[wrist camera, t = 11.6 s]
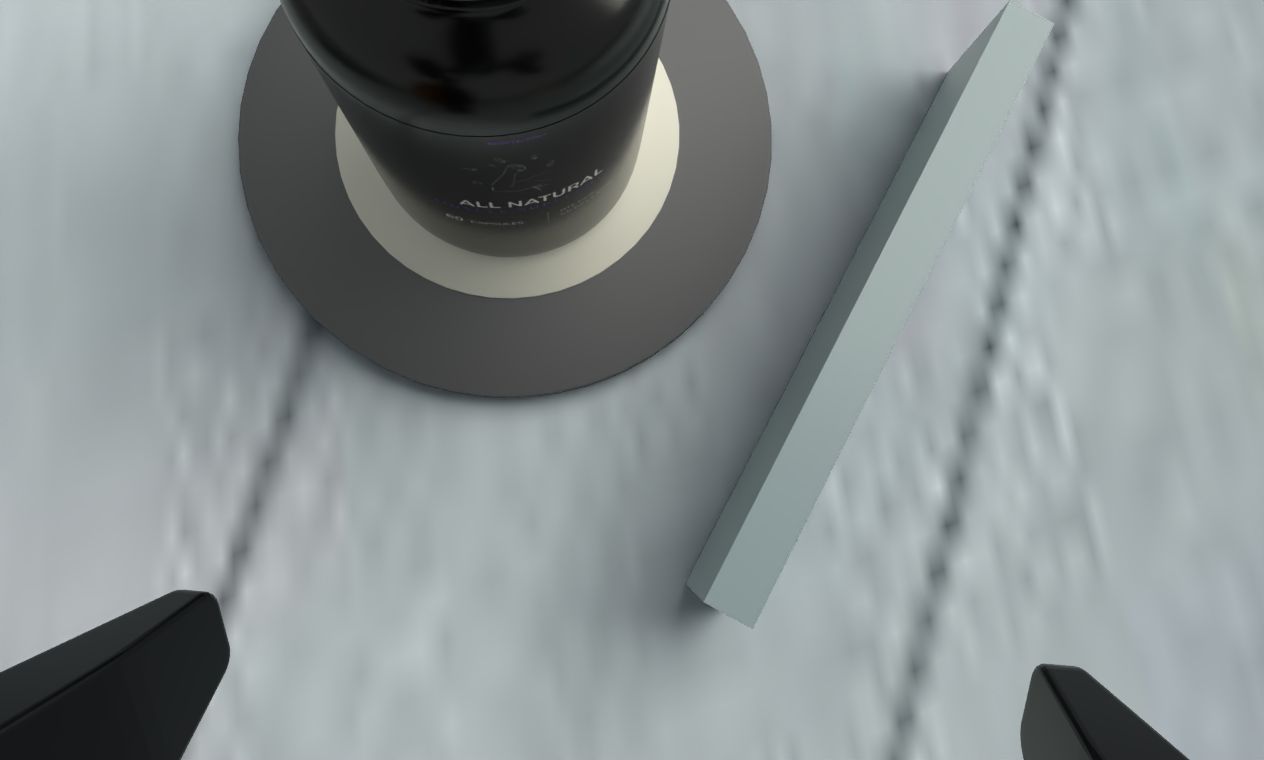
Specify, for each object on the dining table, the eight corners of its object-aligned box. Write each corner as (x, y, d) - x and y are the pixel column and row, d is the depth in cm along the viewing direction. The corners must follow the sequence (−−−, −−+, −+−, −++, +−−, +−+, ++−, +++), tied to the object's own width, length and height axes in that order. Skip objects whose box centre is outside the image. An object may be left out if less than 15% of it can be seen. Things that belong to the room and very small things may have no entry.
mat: (327, 467, 22) (318, 466, 21) (189, -25, 23) (177, -41, 22) (836, 308, 23) (844, 302, 22) (675, -150, 24) (678, -168, 24)
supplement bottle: (525, 318, 22) (456, 111, 10) (324, 149, 22) (16, -253, 10) (695, 125, 23) (820, -279, 11) (499, -35, 23) (409, -604, 11)
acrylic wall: (726, 605, 22) (752, 628, 18) (685, 583, 22) (703, 602, 18) (986, 91, 24) (1054, 23, 20) (948, 71, 24) (1010, -1, 20)
